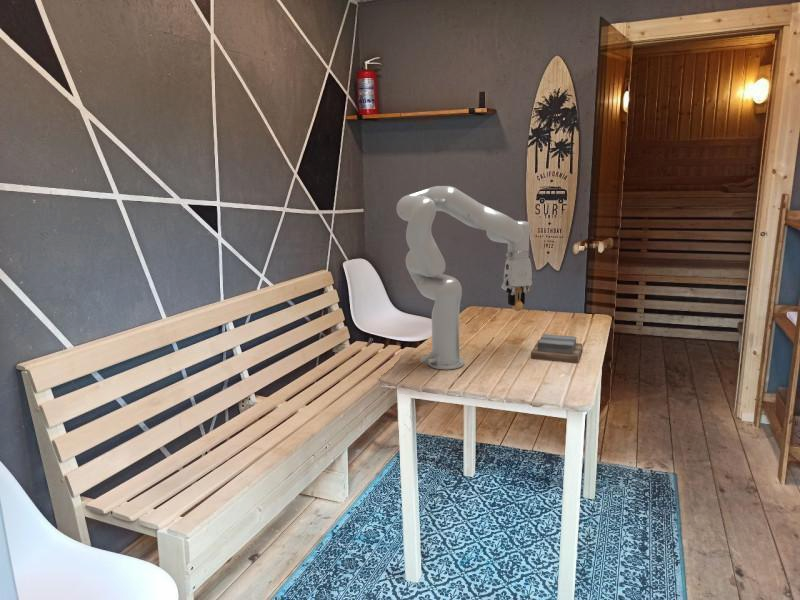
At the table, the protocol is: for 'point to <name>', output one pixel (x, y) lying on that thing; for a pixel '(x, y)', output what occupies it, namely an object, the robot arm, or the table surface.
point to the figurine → (518, 303)
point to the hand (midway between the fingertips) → (516, 303)
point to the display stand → (557, 348)
